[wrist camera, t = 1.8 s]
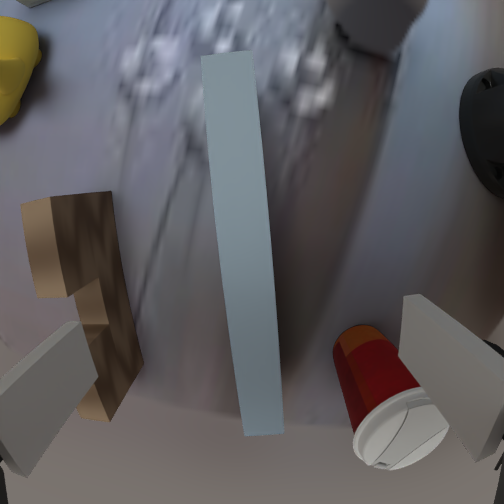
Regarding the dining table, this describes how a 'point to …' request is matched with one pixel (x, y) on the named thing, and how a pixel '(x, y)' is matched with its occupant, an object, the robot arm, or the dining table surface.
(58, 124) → the dining table surface
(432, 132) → the dining table surface
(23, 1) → the tea box
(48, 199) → the notched walnut block
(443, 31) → the dining table surface
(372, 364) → the paper cup
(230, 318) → the slate board
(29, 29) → the teapot
